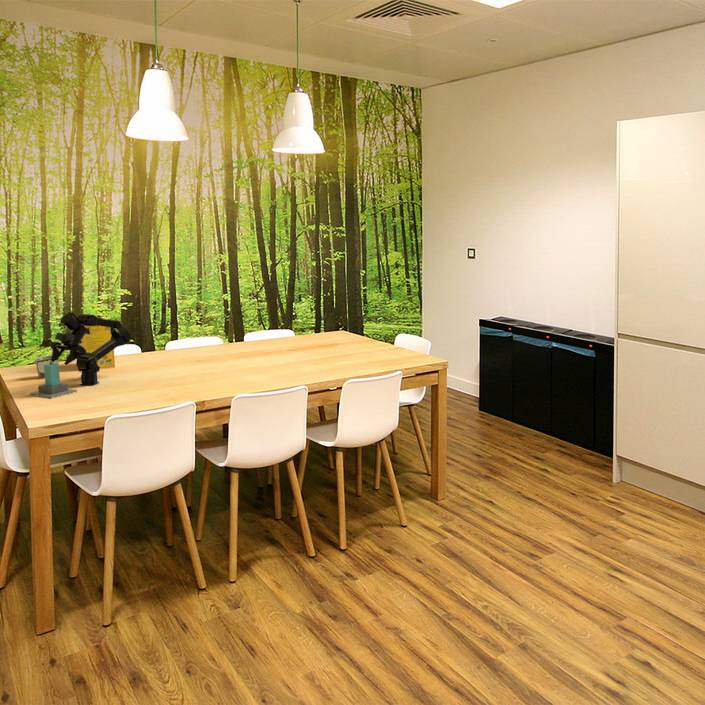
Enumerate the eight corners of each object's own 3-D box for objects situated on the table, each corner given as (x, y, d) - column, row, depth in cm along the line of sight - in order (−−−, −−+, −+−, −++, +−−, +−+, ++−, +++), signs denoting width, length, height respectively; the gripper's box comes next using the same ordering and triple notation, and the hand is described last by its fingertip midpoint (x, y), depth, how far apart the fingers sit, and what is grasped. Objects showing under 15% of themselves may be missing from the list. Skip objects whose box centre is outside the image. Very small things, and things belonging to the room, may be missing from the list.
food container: (54, 373, 356) (53, 354, 354) (60, 375, 352) (59, 356, 350) (31, 377, 346) (29, 358, 344) (37, 379, 342) (35, 359, 341)
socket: (55, 388, 324) (55, 380, 323) (76, 391, 318) (76, 383, 317) (30, 394, 312) (29, 386, 311) (51, 398, 306) (50, 389, 305)
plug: (54, 389, 318) (51, 359, 315) (60, 390, 316) (58, 360, 313) (45, 391, 314) (43, 361, 311) (52, 392, 312) (50, 362, 309)
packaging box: (77, 365, 377) (73, 320, 373) (107, 362, 386) (104, 318, 381) (83, 370, 364) (80, 323, 359) (115, 367, 372) (112, 321, 368)
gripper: (51, 324, 322) (32, 351, 314) (79, 327, 313) (61, 355, 305) (66, 338, 330) (48, 365, 322) (94, 341, 321) (76, 369, 314)
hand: (58, 363), depth 316 cm, fingers open, 9 cm apart
